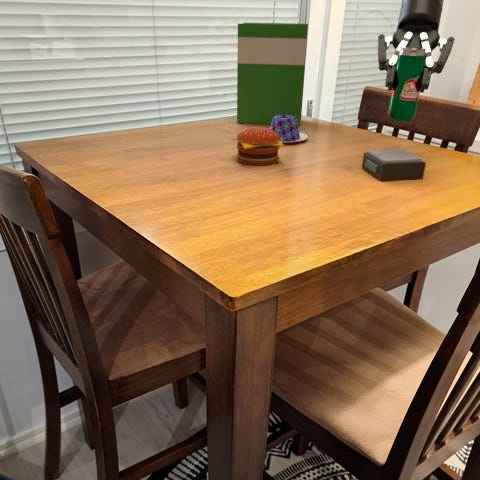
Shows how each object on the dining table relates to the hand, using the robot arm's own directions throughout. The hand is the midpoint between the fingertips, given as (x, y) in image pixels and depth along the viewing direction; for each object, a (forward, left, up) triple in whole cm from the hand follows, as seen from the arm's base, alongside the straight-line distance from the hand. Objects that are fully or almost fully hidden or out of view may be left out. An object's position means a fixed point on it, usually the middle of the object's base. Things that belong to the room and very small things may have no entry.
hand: (406, 88), depth 91 cm
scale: (-1, -1, -16) cm, 16 cm away
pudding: (+13, -33, -16) cm, 39 cm away
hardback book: (+11, -53, -16) cm, 57 cm away
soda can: (-1, -2, -6) cm, 6 cm away
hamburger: (+24, -16, -16) cm, 33 cm away
